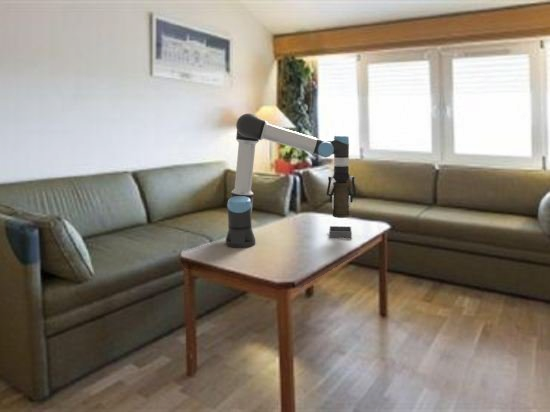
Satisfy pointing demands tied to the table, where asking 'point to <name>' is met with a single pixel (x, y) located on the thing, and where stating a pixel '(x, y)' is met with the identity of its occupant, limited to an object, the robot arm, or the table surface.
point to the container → (341, 200)
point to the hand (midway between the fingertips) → (341, 208)
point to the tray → (340, 232)
